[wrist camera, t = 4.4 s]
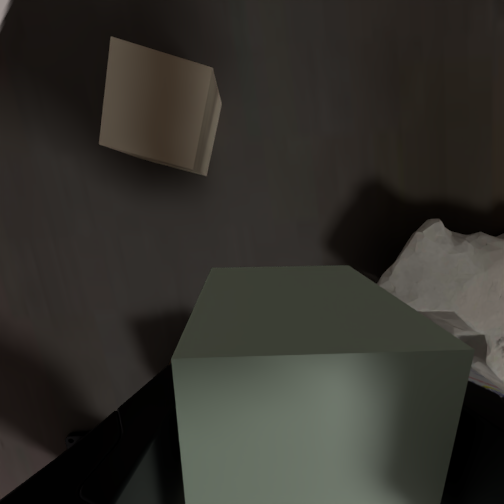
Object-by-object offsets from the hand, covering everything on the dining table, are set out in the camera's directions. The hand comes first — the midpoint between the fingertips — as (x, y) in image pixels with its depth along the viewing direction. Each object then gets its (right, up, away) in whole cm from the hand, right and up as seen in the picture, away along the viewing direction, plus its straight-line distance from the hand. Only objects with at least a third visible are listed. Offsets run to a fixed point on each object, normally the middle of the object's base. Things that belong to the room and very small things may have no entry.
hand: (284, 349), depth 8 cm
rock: (+19, +1, +13) cm, 23 cm away
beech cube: (-6, +12, +9) cm, 16 cm away
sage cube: (0, 0, +1) cm, 1 cm away
